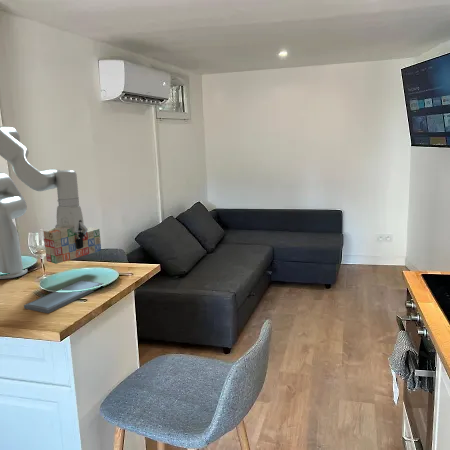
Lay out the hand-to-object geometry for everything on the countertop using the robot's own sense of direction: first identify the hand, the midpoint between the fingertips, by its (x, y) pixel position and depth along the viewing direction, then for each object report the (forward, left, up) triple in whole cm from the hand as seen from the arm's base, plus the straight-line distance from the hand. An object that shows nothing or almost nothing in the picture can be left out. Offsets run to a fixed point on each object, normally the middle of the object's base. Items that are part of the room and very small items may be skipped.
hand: (72, 246), depth 178 cm
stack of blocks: (0, +1, -4) cm, 4 cm away
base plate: (+14, -19, -12) cm, 26 cm away
